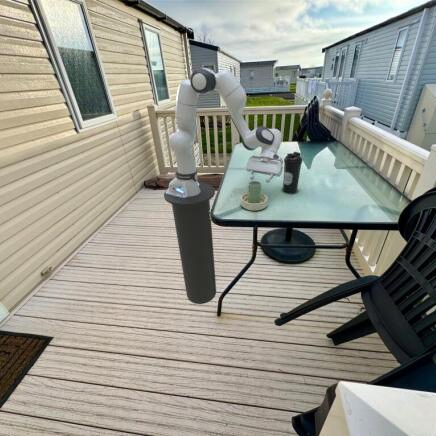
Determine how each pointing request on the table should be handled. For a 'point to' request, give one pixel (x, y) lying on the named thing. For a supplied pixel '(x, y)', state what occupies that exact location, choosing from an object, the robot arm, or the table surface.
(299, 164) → the water bottle
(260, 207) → the bowl
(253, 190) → the tumbler
